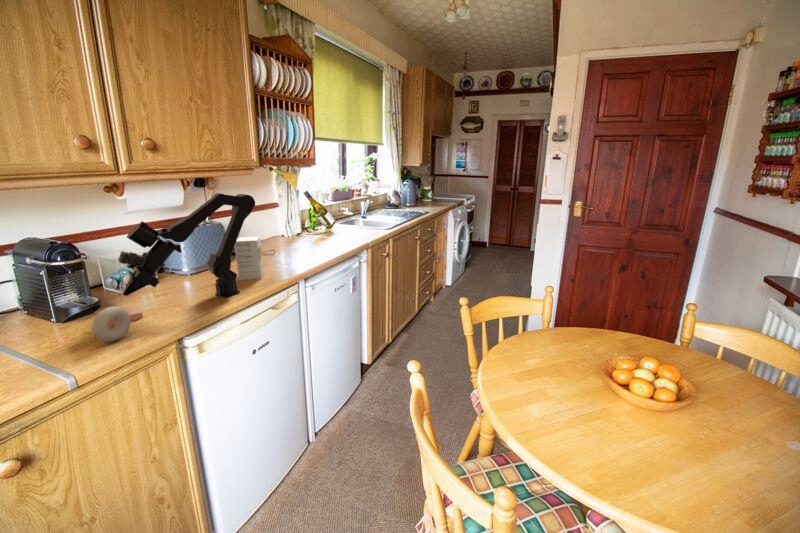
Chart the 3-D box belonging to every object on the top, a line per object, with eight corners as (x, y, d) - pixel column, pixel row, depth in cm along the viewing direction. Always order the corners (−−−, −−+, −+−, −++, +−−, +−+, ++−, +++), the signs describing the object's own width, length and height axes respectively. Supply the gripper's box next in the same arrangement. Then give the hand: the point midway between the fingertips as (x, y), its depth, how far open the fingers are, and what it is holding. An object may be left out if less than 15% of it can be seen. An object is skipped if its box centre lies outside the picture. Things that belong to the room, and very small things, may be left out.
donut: (103, 349, 101) (95, 315, 99) (93, 347, 102) (84, 314, 100) (136, 333, 111) (129, 301, 108) (127, 332, 112) (120, 300, 109)
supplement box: (261, 278, 160) (257, 240, 155) (238, 280, 158) (233, 241, 154) (264, 272, 169) (260, 235, 164) (242, 274, 167) (237, 237, 163)
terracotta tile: (137, 305, 127) (104, 312, 121) (141, 312, 121) (107, 320, 115) (138, 312, 127) (105, 319, 121) (143, 319, 122) (109, 327, 116)
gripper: (128, 237, 126) (94, 275, 121) (138, 246, 112) (101, 289, 108) (159, 256, 133) (128, 292, 129) (173, 266, 120) (139, 307, 116)
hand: (124, 295), depth 120 cm, fingers closed
